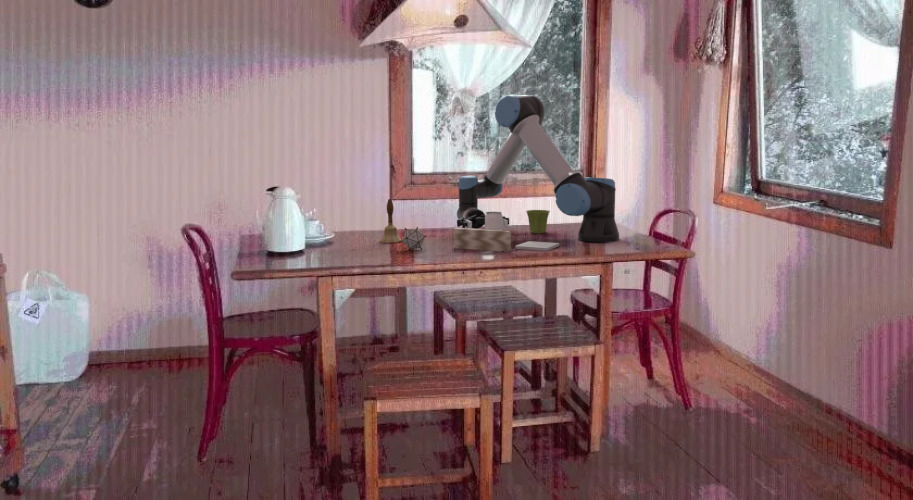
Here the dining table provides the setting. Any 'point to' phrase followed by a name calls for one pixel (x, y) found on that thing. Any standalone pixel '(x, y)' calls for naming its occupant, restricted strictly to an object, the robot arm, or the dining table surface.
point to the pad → (537, 246)
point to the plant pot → (537, 220)
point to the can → (494, 221)
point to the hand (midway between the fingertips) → (488, 224)
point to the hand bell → (390, 227)
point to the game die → (413, 238)
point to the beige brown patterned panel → (482, 239)
